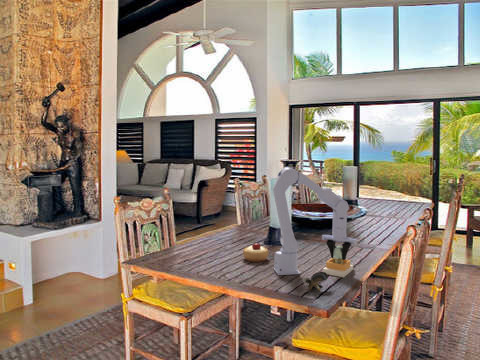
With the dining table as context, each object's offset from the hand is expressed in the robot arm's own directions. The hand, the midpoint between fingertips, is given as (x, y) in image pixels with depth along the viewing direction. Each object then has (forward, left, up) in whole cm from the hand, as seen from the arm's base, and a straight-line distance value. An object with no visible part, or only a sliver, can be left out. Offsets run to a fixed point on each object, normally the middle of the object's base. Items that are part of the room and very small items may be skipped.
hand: (338, 258), depth 170 cm
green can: (0, 0, -2) cm, 2 cm away
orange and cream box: (0, 0, -6) cm, 6 cm away
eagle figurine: (-17, -18, -6) cm, 25 cm away
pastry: (-31, +23, -6) cm, 39 cm away
